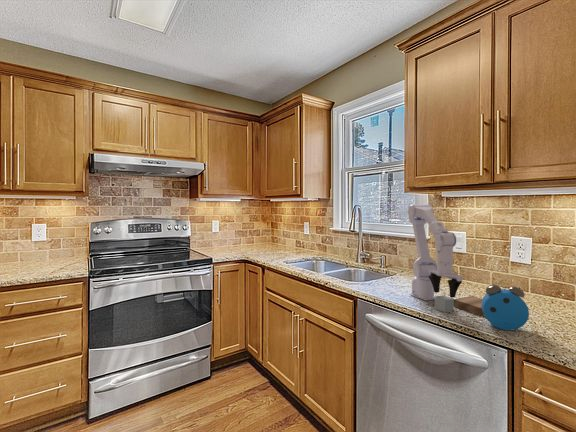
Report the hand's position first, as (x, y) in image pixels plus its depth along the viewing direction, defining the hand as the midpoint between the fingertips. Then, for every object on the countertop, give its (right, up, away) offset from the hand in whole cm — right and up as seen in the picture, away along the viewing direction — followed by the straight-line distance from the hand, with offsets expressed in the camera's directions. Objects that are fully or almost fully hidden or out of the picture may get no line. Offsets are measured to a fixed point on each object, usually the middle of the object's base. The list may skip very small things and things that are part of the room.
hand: (444, 294), depth 128 cm
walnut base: (+14, -6, +1) cm, 15 cm away
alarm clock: (+12, -7, -19) cm, 23 cm away
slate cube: (0, -6, 0) cm, 6 cm away
